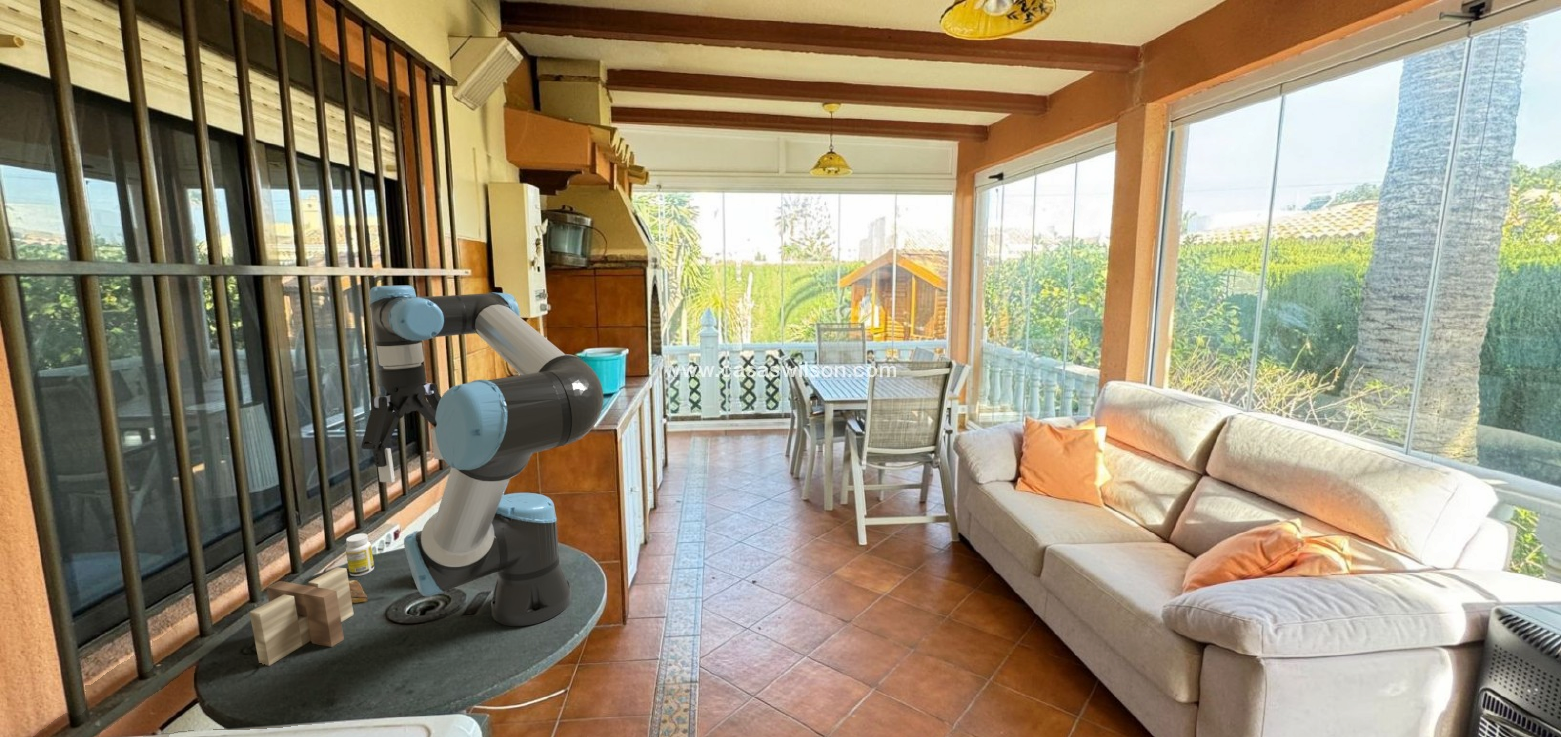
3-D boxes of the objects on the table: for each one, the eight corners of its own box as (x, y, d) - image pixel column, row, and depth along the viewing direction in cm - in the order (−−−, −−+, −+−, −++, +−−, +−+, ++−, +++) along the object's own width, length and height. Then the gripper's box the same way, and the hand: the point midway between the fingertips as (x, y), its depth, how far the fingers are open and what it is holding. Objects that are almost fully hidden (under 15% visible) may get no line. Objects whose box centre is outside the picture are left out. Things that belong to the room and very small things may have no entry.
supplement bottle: (363, 565, 143) (358, 531, 141) (379, 567, 141) (374, 533, 140) (344, 575, 138) (338, 540, 136) (361, 578, 137) (355, 543, 135)
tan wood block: (344, 639, 115) (336, 590, 113) (331, 647, 112) (323, 597, 111) (288, 628, 118) (279, 580, 117) (275, 635, 116) (266, 587, 114)
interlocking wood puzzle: (353, 614, 123) (346, 568, 121) (269, 665, 108) (259, 614, 106) (344, 613, 123) (337, 567, 122) (259, 663, 108) (249, 612, 106)
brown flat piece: (368, 604, 127) (367, 596, 127) (323, 619, 122) (322, 611, 122) (358, 584, 135) (357, 577, 135) (315, 598, 130) (314, 590, 130)
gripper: (434, 355, 132) (445, 449, 136) (326, 377, 108) (344, 491, 112) (464, 355, 130) (475, 451, 134) (362, 378, 106) (378, 493, 110)
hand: (415, 469), depth 123 cm, fingers open, 13 cm apart
